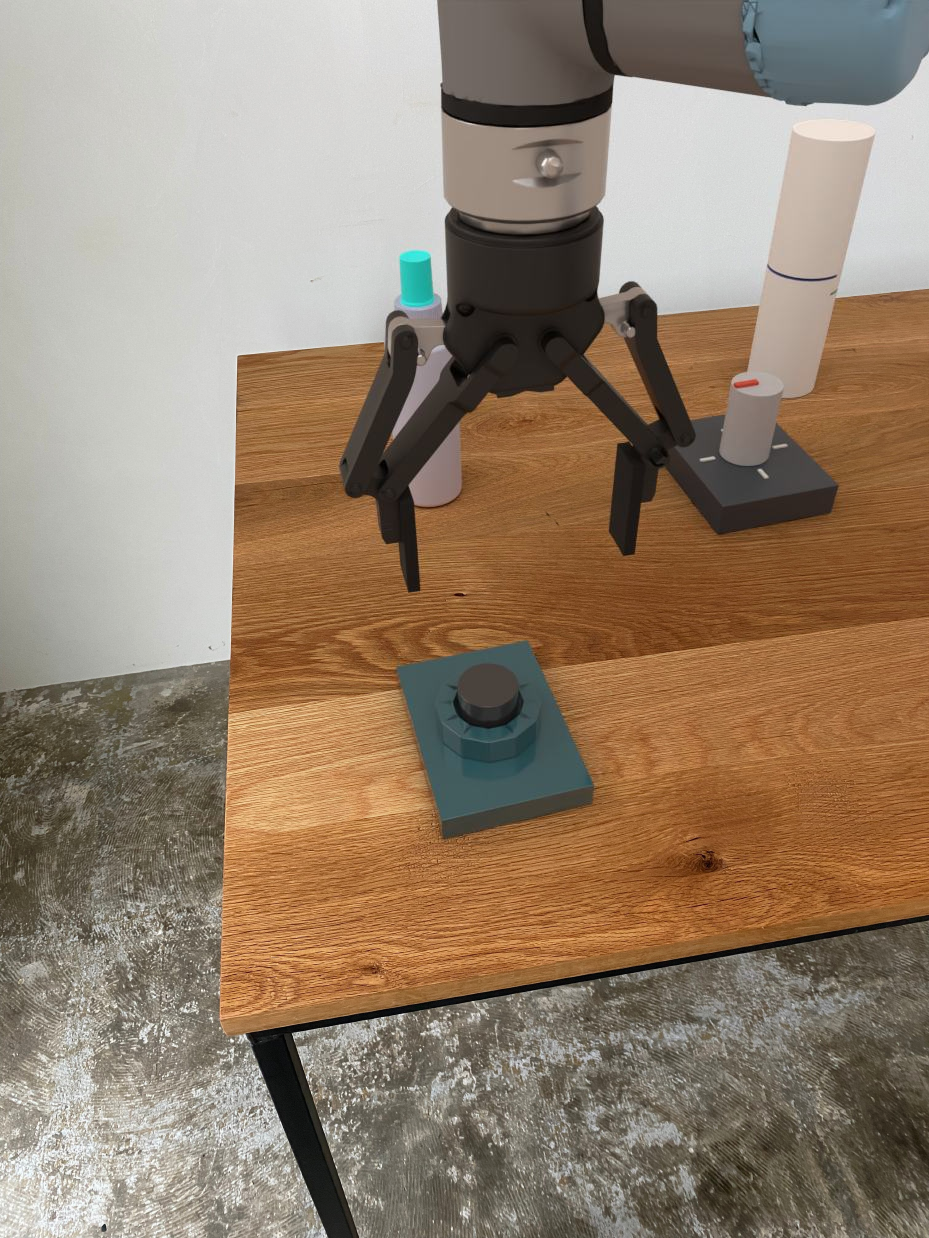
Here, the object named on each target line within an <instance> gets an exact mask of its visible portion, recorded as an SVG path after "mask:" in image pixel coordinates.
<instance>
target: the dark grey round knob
mask: <svg viewBox="0 0 929 1238" xmlns="http://www.w3.org/2000/svg"><path fill="white" fill-rule="evenodd" d="M457 689H458V708H459V712H460V714H461V716H462V717H463V718H464V720H466V721H467V722H468V723H470V724H472V725H474V726H477V727H482V728H495V727H499V726H502V725H504V724H506V723H508V722H509V721H511V720H512V719H513V718H514V716H515V715H516V713H517V711H518V680H517V678H516V676H515V675H514V673H513V672H512V671H511V670H509V669H508V668H506V667H504V666H501V665H498V664H492V663H484V664H478V665H475V666H472V667H470V668H469V669H467V670H466V671H464V672H463V673H462V675H461V676H460V678H459V680H458V684H457Z"/></svg>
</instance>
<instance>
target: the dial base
mask: <svg viewBox="0 0 929 1238" xmlns="http://www.w3.org/2000/svg"><path fill="white" fill-rule="evenodd" d="M725 415H726V413H724V414H719V415H712V416H707V417H706V416H705V417H701V418H700V417H699V418H695V419H690V421H691V423H692V426H693V428H694V431H695V433H696V438H695V440H694V442H693V443H692V444H691V445H690V446H688V447H682V448H681V447H679V446H678V445H677V446H675V447H673V448H671V449H669V450H667V451H668V453H669V454H670V460H669V463H668V464H667V465H666V466H664V468H666V470H667V471H668V472H669V473H670V475H671V476H672V478H674V480H675V481H676V483H677V484H678V485H679V487H680V488H681V489H682V491H684V493H685V494H686V495H687V497H688V498H689V499H690V501H691V502H692V503H693V504H694V506H695V507H696V509H698V511H699V512H700V513H701V515H702V516H703V517H704V519H705V520H706V521H707V522H708V524H709V525H710V526H711V527H712V529H713V530H714V531H715V533H716V534H717V535H721V534H727V533H731V532H732V533H733V532H737V531H738V532H739V531H742V530H748V529H753V528H758V527H764V526H768V525H769V526H770V525H774V524H780V523H785V522H789V521H796V520H800V519H805V518H806V519H807V518H811V517H816V516H821V515H827V514H831V513H832V512H833V508H834V503H835V500H836V496H837V493H838V490H839V488H840V487H839V486H840V484H839V483H838V482H837V481H836V480H835V479H834V478H833V477H831V475H829V473H827V471H826V470H825V469H823V468H822V466H820V464H818V462H817V461H815V460H814V459H813V458H812V457H811V455H809V454H808V453H807V452H806V451H805V450H804V449H803V448H802V447H801V445H799V444H798V443H797V441H795V439H793V438H792V437H791V436H790V435H789V434H788V433H787V432H786V431H785V429H783V428H782V427H781V425H779V424H778V423H777V422H776V425H775V430H774V435H773V439H772V444H771V448H770V453H769V457H768V459H767V460H766V461H765V462H764V463H762V464H759V465H755V466H740V465H736V464H733V463H730V462H728V461H726V460H725V459H724V458H722V456H721V455H720V452H719V449H720V443H721V437H722V432H723V426H724V420H725Z"/></svg>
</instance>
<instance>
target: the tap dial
mask: <svg viewBox="0 0 929 1238" xmlns="http://www.w3.org/2000/svg"><path fill="white" fill-rule="evenodd" d="M783 389H784V384H783V382H782V381H781V380H780V379H779V378H777V377H775V376H773V375H771V374H768V373H763V372H747V371H745V372H741V373H738V374H736V375H735V376H733V378H732V379H731V382H730V387H729V392H728V399H727V404H726V410H725V414H726V415H725V420H724V426H723V432H722V437H721V443H720V449H719V452H720V455H721V456H722V458H724V459H725V460H726V461H728V462H730V463H733V464H736V465H740V466H755V465H759V464H762V463H764V462H765V461H766V460H767V459H768V457H769V453H770V448H771V444H772V439H773V435H774V430H775V425H776V423H777V420H778V416H779V411H780V407H781V402H782V399H783V398H782V393H783Z"/></svg>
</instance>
